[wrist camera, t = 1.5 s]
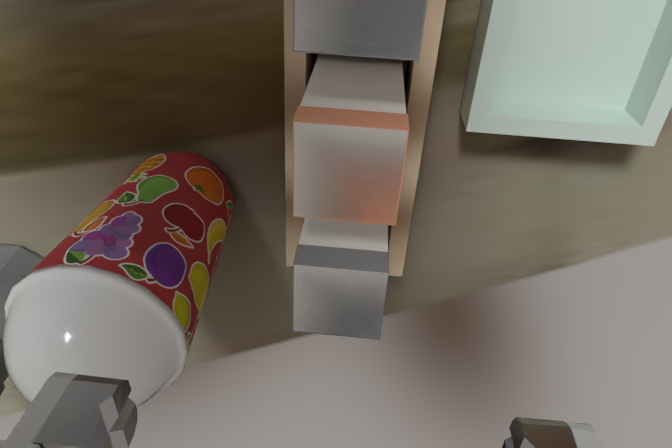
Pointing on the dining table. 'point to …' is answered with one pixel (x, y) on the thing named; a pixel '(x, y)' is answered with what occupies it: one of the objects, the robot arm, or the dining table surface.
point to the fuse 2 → (340, 278)
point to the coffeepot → (5, 272)
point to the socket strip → (417, 107)
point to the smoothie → (124, 282)
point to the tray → (571, 70)
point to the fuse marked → (350, 141)
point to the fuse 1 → (360, 27)
